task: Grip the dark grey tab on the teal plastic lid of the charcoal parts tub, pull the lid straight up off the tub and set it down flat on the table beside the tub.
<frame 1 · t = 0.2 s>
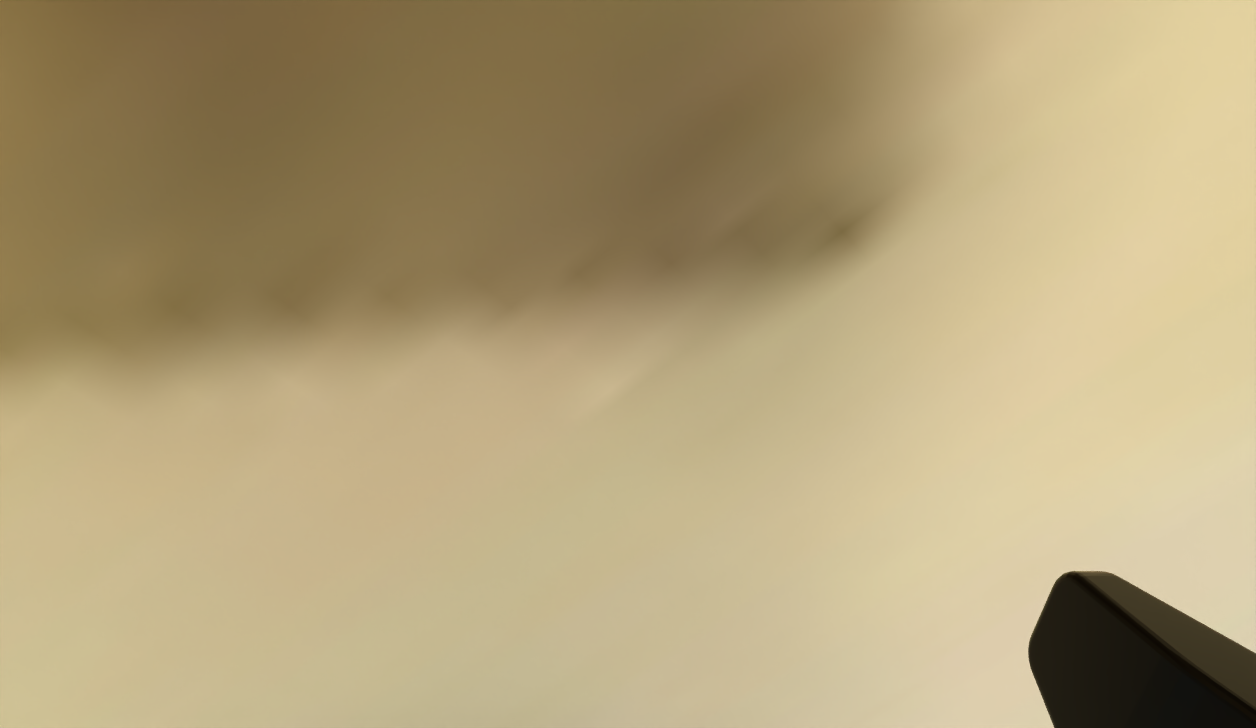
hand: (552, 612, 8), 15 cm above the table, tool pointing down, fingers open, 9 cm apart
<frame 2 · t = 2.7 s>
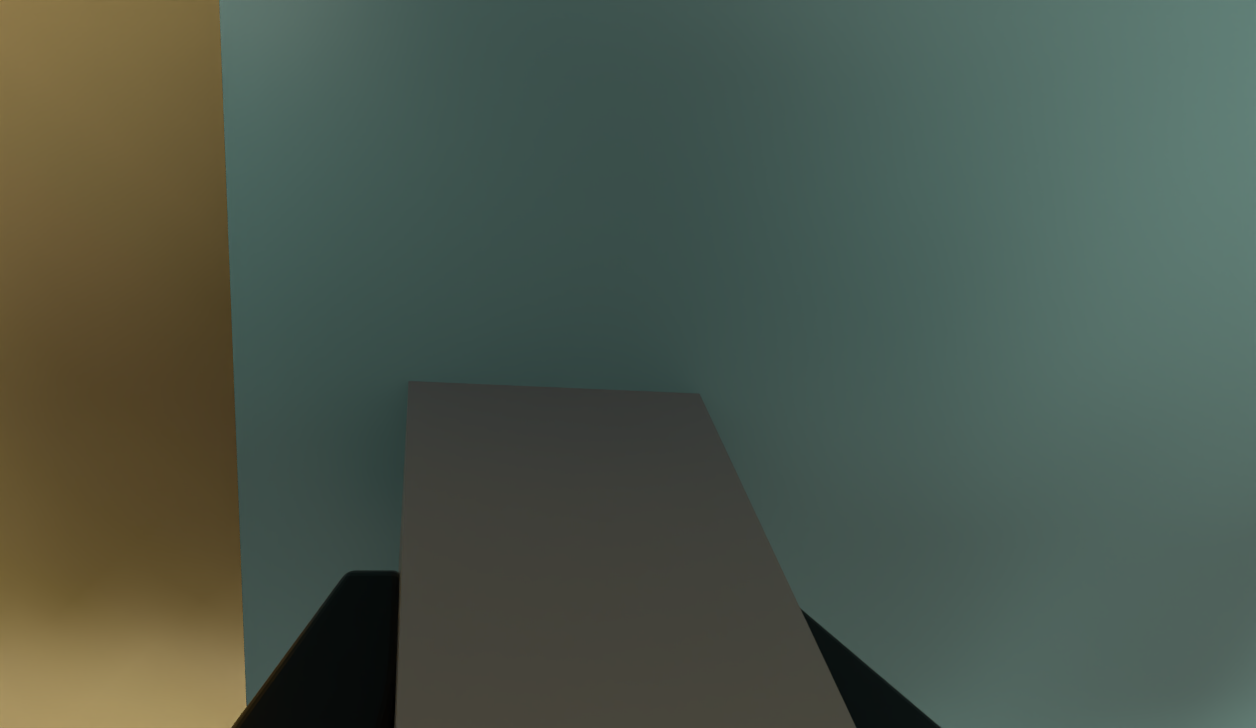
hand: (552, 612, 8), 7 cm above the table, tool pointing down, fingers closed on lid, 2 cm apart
lid: (980, 491, 11), point 5 cm above the table, touching gripper, parts tub
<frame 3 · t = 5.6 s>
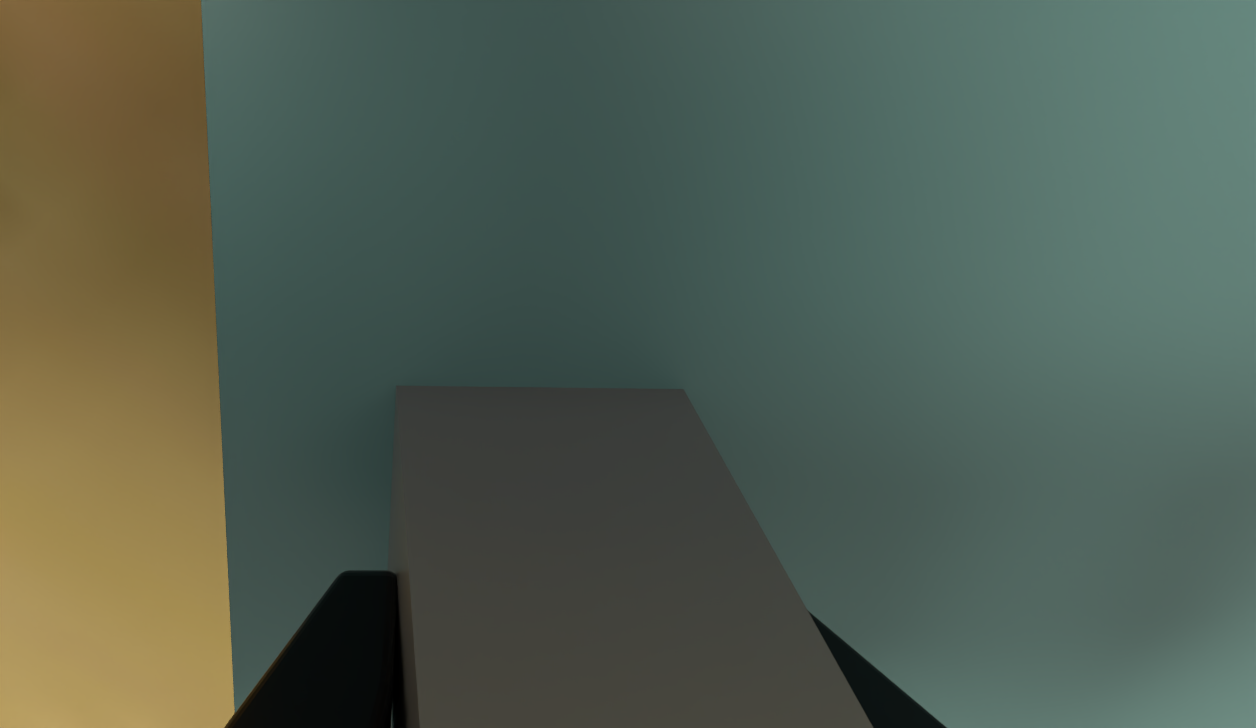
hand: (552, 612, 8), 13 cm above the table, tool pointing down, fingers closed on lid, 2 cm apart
lid: (951, 475, 11), point 11 cm above the table, touching gripper
when the fingers open (4 cm above the table, at t = 8.4 s): lid stays where it is, point 1 cm above the table.
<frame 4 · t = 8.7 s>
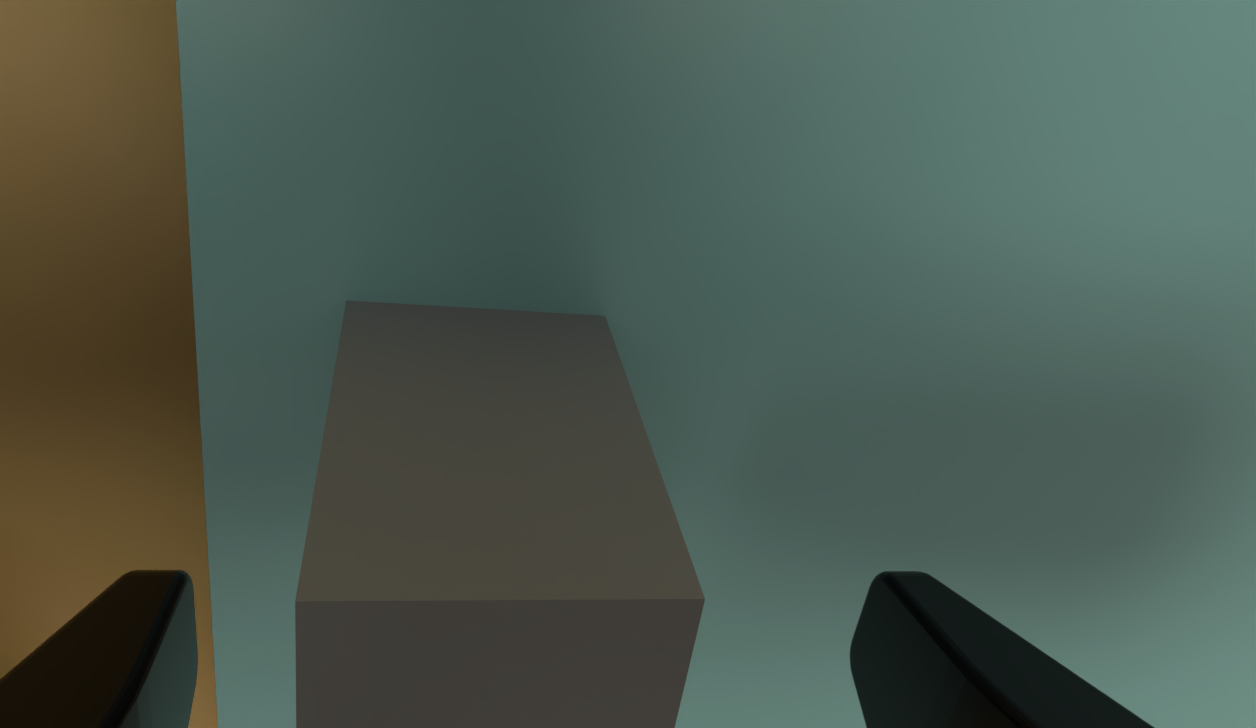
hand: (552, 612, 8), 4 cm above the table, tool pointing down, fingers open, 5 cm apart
lid: (875, 418, 12), point 1 cm above the table
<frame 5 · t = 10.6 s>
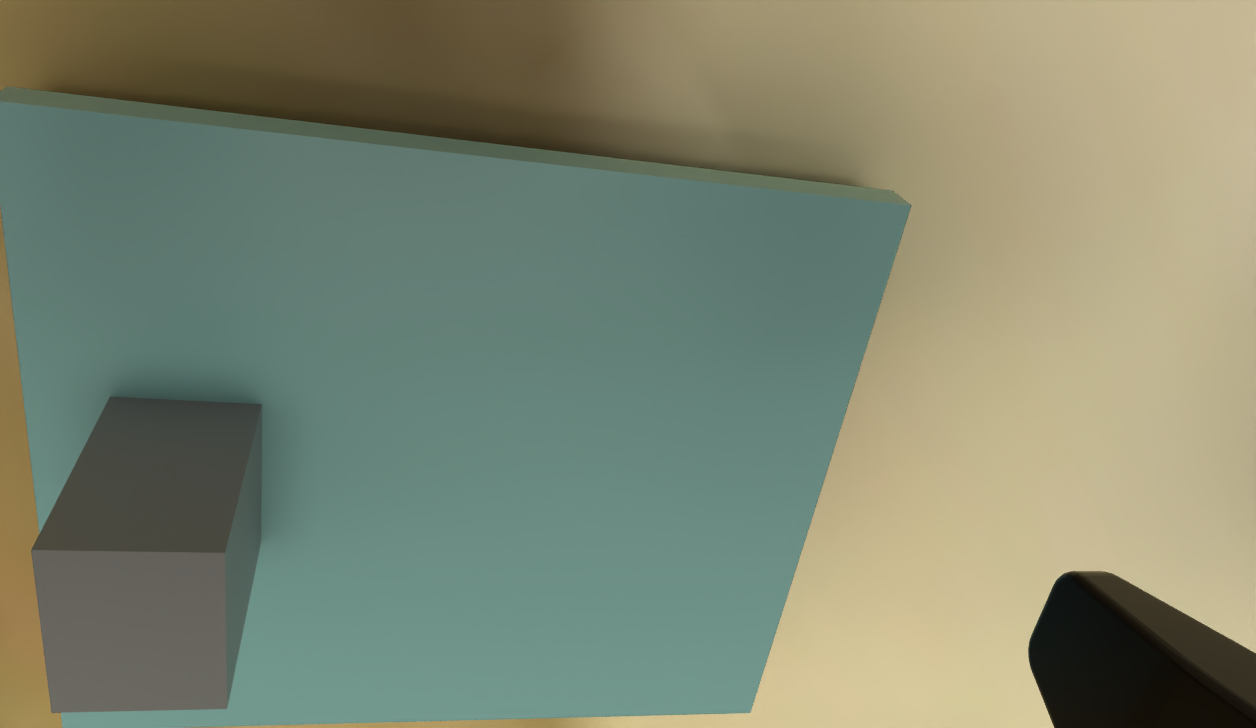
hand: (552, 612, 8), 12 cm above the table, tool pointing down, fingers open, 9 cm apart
lid: (461, 458, 19), point 1 cm above the table
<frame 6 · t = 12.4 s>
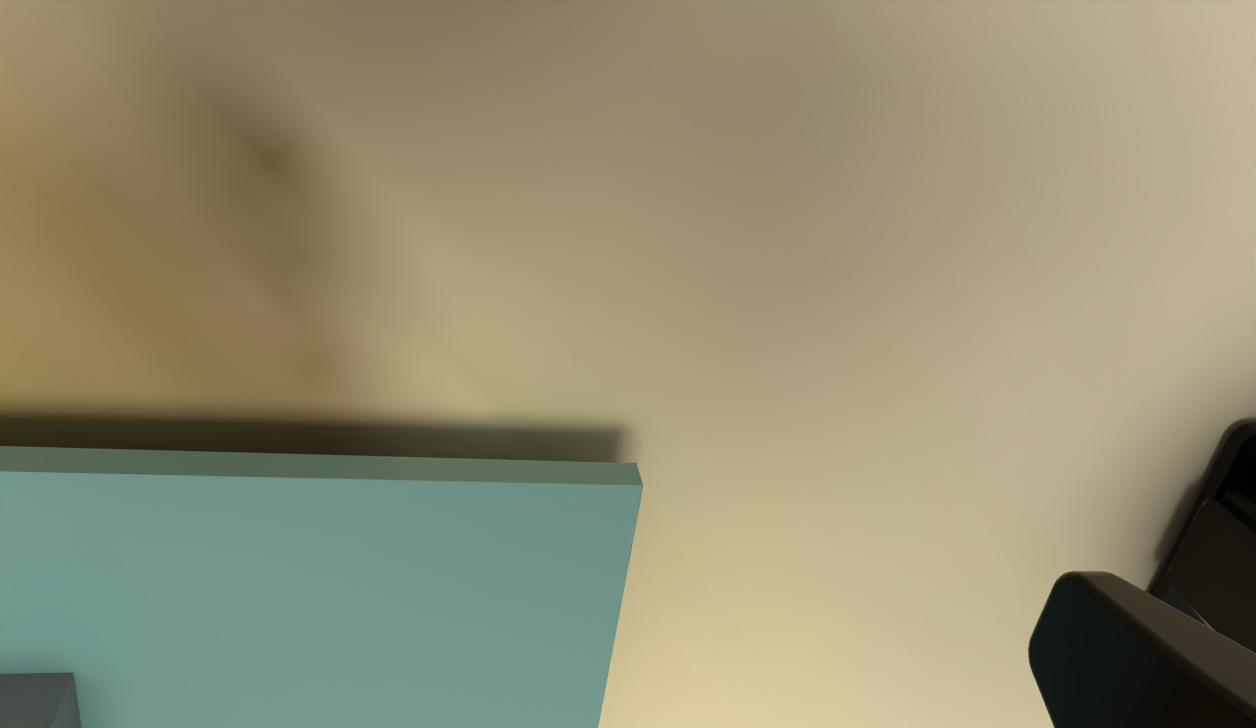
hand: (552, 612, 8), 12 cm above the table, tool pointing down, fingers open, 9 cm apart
lid: (271, 692, 22), point 1 cm above the table
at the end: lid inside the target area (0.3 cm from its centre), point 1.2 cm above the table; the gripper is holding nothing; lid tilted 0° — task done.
